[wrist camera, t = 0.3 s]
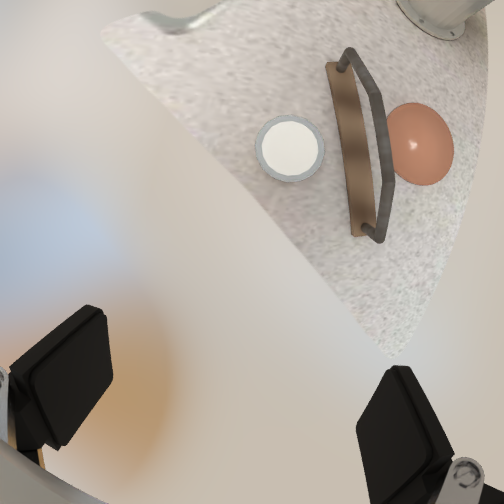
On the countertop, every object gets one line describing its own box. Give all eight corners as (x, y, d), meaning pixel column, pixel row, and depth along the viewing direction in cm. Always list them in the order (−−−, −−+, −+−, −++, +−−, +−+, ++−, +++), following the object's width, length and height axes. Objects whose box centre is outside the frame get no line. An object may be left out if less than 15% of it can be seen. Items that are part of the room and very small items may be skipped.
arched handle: (325, 66, 29) (342, 25, 18) (347, 65, 29) (373, 26, 18) (351, 234, 35) (380, 262, 24) (373, 231, 35) (409, 257, 24)
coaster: (406, 88, 29) (408, 86, 28) (461, 142, 30) (464, 142, 29) (366, 147, 32) (368, 147, 31) (426, 201, 33) (429, 202, 32)
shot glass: (326, 142, 32) (336, 135, 26) (300, 190, 34) (304, 194, 28) (275, 116, 32) (274, 102, 25) (250, 164, 34) (242, 162, 27)
